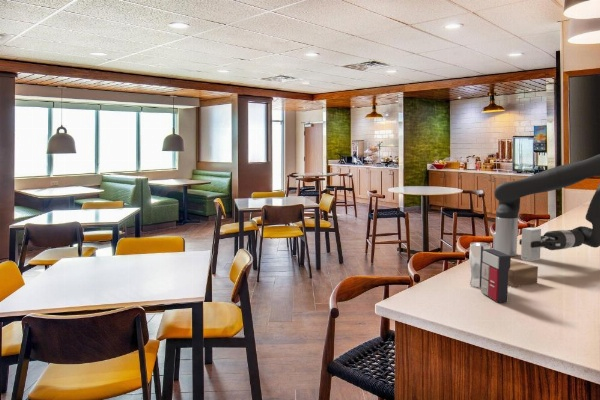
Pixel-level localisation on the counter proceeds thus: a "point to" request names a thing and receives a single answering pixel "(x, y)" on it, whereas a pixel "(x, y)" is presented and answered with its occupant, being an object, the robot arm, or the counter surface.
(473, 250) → the beer glass
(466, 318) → the counter surface
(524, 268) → the walnut block
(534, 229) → the skincare box
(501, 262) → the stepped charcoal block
